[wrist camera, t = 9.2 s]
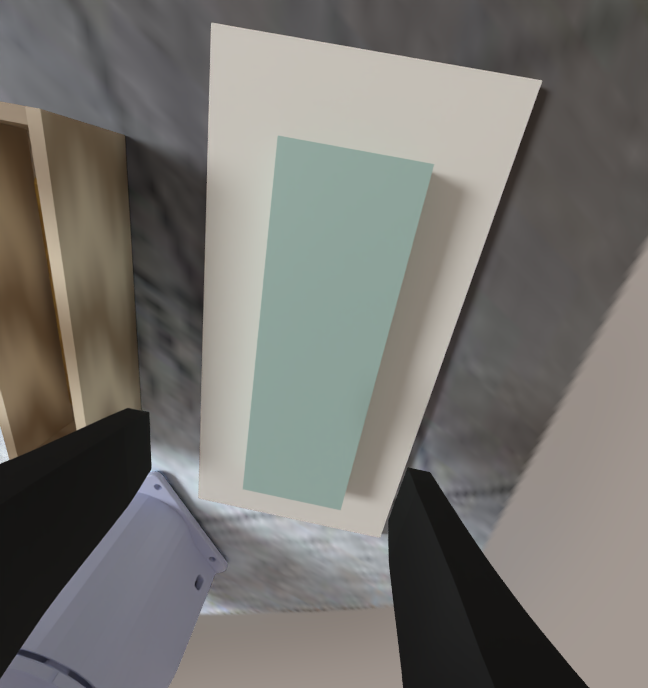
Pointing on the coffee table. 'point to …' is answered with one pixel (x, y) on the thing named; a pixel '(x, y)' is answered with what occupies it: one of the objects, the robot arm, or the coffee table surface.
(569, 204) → the coffee table surface
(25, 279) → the pencil box
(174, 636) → the robot arm
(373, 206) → the lid
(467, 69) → the mat
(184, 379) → the coffee table surface
